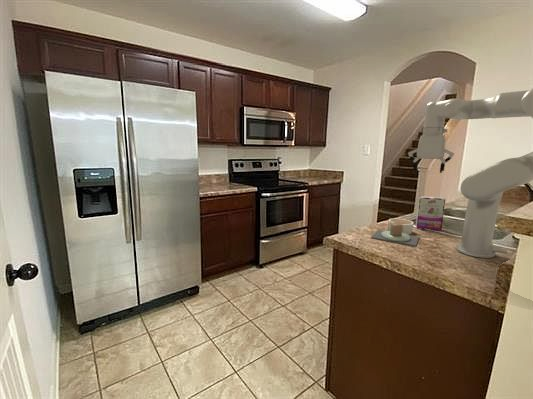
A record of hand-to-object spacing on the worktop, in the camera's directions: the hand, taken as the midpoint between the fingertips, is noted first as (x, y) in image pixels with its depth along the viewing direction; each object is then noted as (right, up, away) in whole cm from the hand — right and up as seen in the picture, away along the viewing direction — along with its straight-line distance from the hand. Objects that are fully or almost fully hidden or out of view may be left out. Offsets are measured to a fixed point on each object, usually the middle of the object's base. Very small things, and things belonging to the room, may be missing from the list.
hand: (427, 171), depth 118 cm
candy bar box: (+11, -27, +19) cm, 35 cm away
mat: (-13, -30, +4) cm, 33 cm away
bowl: (-5, -28, +14) cm, 32 cm away
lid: (-13, -30, +4) cm, 32 cm away
